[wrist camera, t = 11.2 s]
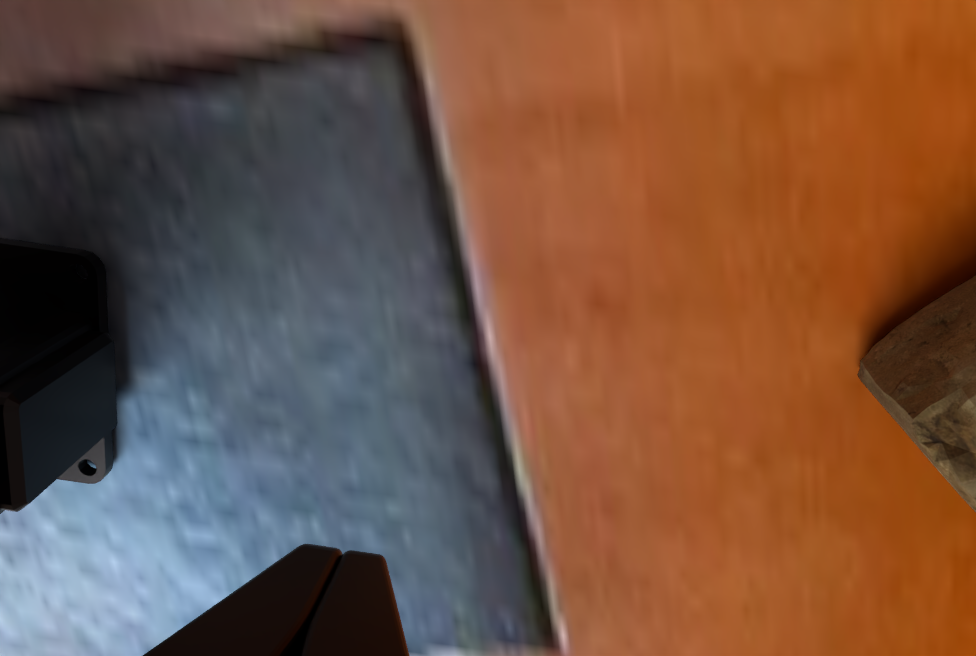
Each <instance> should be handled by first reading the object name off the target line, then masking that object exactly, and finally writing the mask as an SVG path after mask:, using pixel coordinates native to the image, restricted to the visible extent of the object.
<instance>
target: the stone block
mask: <svg viewBox="0 0 976 656" xmlns="http://www.w3.org/2000/svg"><path fill="white" fill-rule="evenodd" d="M858 377H859V379H860V380H861V381H862V383H863V384H864V385H865V386H866V387H867V388H868V390H869V391H870V392H871V393H872V394H873V395H874V397H875V398H876V399H877V400H878V401H879V402H880V404H881V405H882V406H883V407H884V408H885V409H886V410H887V412H888V413H889V414H890V415H891V416H892V417H893V418H894V420H895V421H896V422H897V423H898V424H899V425H900V426H901V428H902V429H903V430H904V431H905V432H906V433H907V435H908V436H909V437H910V438H911V439H912V440H913V442H914V443H915V444H916V445H917V446H918V447H919V449H920V450H921V451H922V452H923V453H924V455H925V456H926V457H927V458H928V459H929V460H930V461H931V463H932V464H933V465H934V466H935V467H936V468H937V470H938V471H939V472H940V473H941V474H942V475H943V476H944V478H945V479H946V480H947V481H948V482H949V483H950V484H951V486H952V487H953V488H954V489H955V490H956V491H957V492H958V493H959V495H960V496H961V497H962V498H963V499H964V500H965V501H966V502H967V503H968V504H969V505H970V507H971V508H972V509H973V510H974V511H975V512H976V275H975V276H974V277H972V278H971V279H969V280H968V281H966V282H964V283H962V284H961V285H959V286H957V287H955V288H954V289H952V290H951V291H949V292H948V293H946V294H944V295H943V296H941V297H940V298H938V299H936V300H935V301H933V302H931V303H930V304H928V305H927V306H925V307H924V308H922V309H921V310H919V311H918V312H917V313H915V314H914V315H913V316H911V317H910V318H909V319H907V320H906V321H904V322H903V323H901V324H900V325H898V326H897V327H895V328H894V329H893V330H892V331H891V332H890V333H889V334H887V335H886V336H885V337H884V338H883V339H882V340H880V341H879V342H878V343H876V344H875V345H874V346H873V347H872V348H871V350H870V351H869V353H868V354H867V355H866V356H865V357H864V358H863V359H862V360H861V361H860V370H859V372H858Z"/></svg>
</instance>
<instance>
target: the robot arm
mask: <svg viewBox="0 0 976 656" xmlns="http://www.w3.org/2000/svg"><path fill="white" fill-rule="evenodd" d="M77 264H79V265H82V266H83V267H84V268H85V269H86V271H87V275H88V276H87V279H85V278H82V277H81V276H80V275H79V274H78V273H77V270H76V266H77ZM116 425H117V409H116V381H115V354H114V342H113V340H112V339H111V337H110V335H109V334H108V318H107V293H106V271H105V267H104V264H103V263H102V261H101V260H100V258H99V257H98V256H96V255H95V254H94V253H92V252H89V251H86V250H80V249H73V248H66V247H60V246H53V245H46V244H39V243H32V242H25V241H18V240H11V239H4V238H0V514H1V513H2V512H3V511H4V510H8V511H15V512H18V511H20V510H21V509H23V508H24V507H25V506H27V505H28V504H29V503H30V502H32V501H33V500H34V499H35V498H36V497H37V496H38V495H39V494H41V493H42V492H43V491H44V490H45V489H46V488H47V487H48V486H49V485H51V484H52V483H53V482H54V481H55V480H56V479H60V480H67V481H74V482H81V483H87V484H92V483H97V482H99V481H101V480H102V479H103V478H104V477H105V476H106V475H107V474H108V473H109V472H110V471H111V469H112V466H113V446H112V429H114V428H115V427H116ZM86 459H88V460H90V461H92V462H93V463H94V464H95V465H96V468H93V467H91V466H90V465H89V464H88V463H87V460H86ZM143 656H409V653H408V649H407V645H406V640H405V636H404V632H403V628H402V624H401V620H400V616H399V612H398V608H397V604H396V600H395V596H394V592H393V588H392V583H391V579H390V575H389V571H388V567H387V563H386V560H385V558H384V557H383V556H382V555H379V554H373V553H366V552H359V551H352V550H350V551H347V552H345V553H344V554H342V552H341V551H340V550H339V549H337V548H332V547H326V546H319V545H312V544H303V545H301V546H299V547H297V548H296V549H294V550H293V551H291V552H290V553H289V554H287V555H286V556H284V557H283V558H281V559H280V560H279V561H277V562H276V563H274V564H273V565H271V566H270V567H269V568H267V569H266V570H264V571H263V572H261V573H260V574H259V575H257V576H256V577H254V578H253V579H251V580H250V581H249V582H247V583H246V584H244V585H243V586H241V587H240V588H239V589H237V590H236V591H234V592H233V593H231V594H230V595H229V596H227V597H226V598H224V599H223V600H221V601H220V602H219V603H217V604H216V605H214V606H213V607H212V608H210V609H209V610H207V611H206V612H204V613H203V614H202V615H200V616H199V617H197V618H196V619H194V620H193V621H192V622H190V623H189V624H187V625H186V626H184V627H183V628H182V629H180V630H179V631H177V632H176V633H174V634H173V635H172V636H170V637H169V638H167V639H166V640H164V641H163V642H162V643H160V644H159V645H157V646H156V647H154V648H153V649H152V650H150V651H149V652H147V653H146V654H144V655H143Z"/></svg>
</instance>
